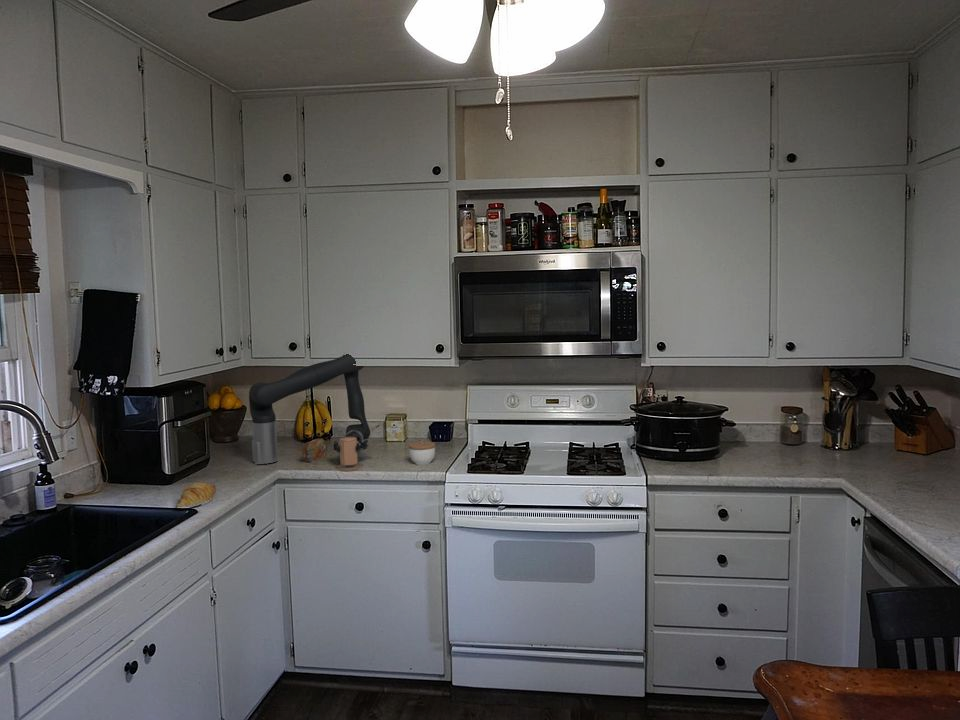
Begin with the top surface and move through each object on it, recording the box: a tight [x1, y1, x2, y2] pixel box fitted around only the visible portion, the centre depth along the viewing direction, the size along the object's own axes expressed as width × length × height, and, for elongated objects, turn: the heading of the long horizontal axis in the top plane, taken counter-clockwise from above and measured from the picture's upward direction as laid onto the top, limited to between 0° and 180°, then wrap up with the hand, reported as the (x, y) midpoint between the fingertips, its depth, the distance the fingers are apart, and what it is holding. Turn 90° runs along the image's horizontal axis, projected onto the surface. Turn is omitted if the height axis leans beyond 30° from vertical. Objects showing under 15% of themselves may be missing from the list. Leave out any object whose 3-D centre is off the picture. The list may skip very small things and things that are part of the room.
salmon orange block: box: [339, 436, 359, 465], centre depth 272 cm, size 6×6×10 cm
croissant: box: [176, 481, 217, 508], centre depth 231 cm, size 21×10×8 cm, turn 172°
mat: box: [335, 452, 374, 462], centre depth 287 cm, size 12×12×1 cm
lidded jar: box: [408, 439, 436, 466], centre depth 277 cm, size 11×11×9 cm
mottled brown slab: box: [302, 438, 328, 463], centre depth 287 cm, size 15×3×8 cm, turn 161°
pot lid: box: [334, 462, 364, 472], centre depth 272 cm, size 11×11×3 cm
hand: (347, 449), depth 269 cm, fingers closed on salmon orange block, 6 cm apart
